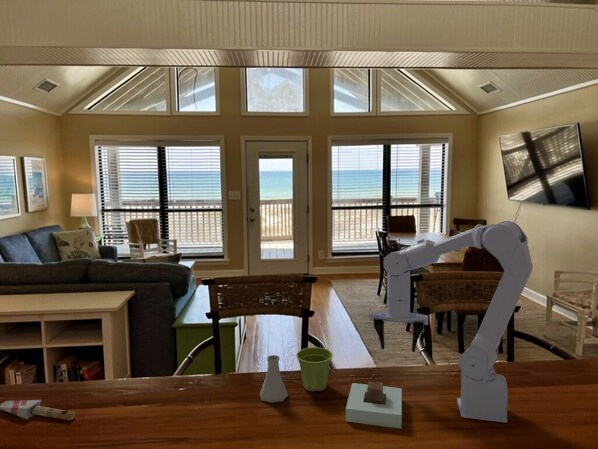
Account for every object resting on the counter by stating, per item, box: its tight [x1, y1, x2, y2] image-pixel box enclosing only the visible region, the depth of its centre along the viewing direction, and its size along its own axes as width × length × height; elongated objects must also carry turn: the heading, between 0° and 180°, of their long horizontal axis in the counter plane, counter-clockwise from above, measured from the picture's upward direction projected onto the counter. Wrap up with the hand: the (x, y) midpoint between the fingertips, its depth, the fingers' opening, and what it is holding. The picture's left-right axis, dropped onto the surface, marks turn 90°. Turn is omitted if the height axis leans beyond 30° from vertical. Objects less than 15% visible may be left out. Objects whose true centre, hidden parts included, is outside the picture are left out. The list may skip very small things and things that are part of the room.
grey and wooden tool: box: [0, 399, 77, 421], centre depth 94 cm, size 4×3×20 cm
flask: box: [259, 354, 289, 404], centre depth 101 cm, size 7×7×10 cm
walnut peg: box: [367, 380, 384, 404], centre depth 94 cm, size 3×3×6 cm
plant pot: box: [296, 346, 334, 392], centre depth 106 cm, size 9×9×9 cm
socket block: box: [345, 382, 403, 429], centre depth 94 cm, size 12×12×3 cm
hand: (398, 349), depth 105 cm, fingers open, 7 cm apart
